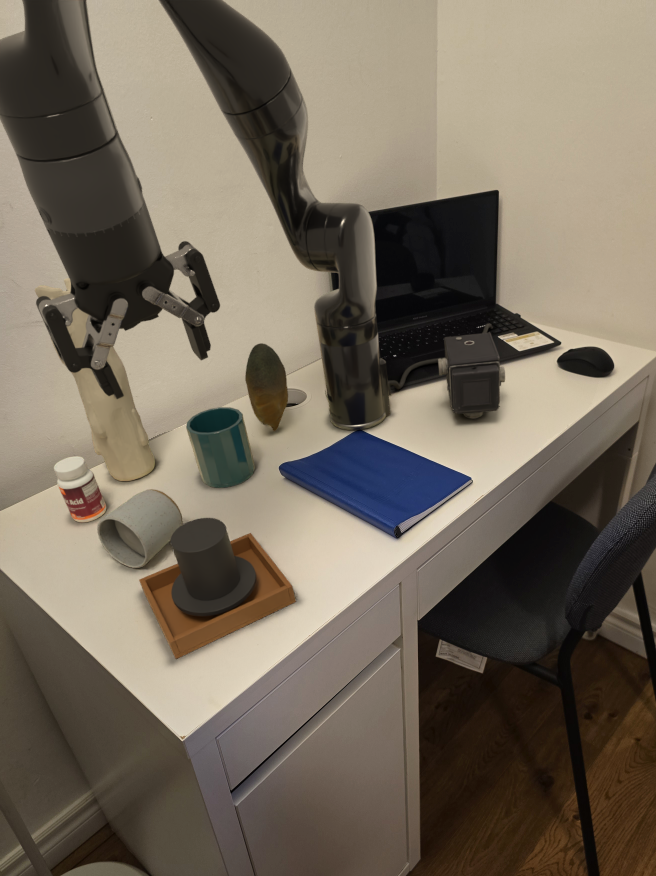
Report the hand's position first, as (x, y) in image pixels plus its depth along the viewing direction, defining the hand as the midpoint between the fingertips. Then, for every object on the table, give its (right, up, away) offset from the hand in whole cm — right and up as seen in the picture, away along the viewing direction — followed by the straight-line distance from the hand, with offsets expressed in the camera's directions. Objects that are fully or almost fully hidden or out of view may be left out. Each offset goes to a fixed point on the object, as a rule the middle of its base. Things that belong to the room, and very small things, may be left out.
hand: (159, 374), depth 62 cm
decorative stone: (+4, -1, +47) cm, 47 cm away
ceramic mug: (-10, -18, +24) cm, 32 cm away
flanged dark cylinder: (+2, -23, +15) cm, 27 cm away
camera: (+36, +3, +47) cm, 59 cm away
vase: (-18, -7, +41) cm, 45 cm away
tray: (+2, -23, +15) cm, 28 cm away
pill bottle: (-20, -14, +32) cm, 41 cm away
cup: (-2, -8, +38) cm, 38 cm away
